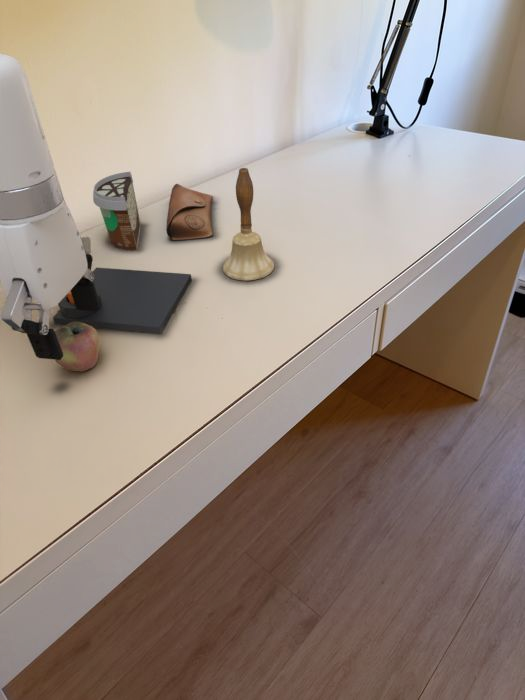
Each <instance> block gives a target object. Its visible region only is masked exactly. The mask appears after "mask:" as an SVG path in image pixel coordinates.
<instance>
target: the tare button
mask: <svg viewBox="0 0 525 700" xmlns="http://www.w3.org/2000/svg"><path fill="white" fill-rule="evenodd" d="M67 296H68V299H69V302H70V303H73V304H75V303H74V300H73V297H72V294H71V291H69V292H68V294H67Z"/></svg>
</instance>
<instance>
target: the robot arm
mask: <svg viewBox="0 0 525 700" xmlns="http://www.w3.org/2000/svg"><path fill="white" fill-rule="evenodd" d="M54 165H55V164H54V162H53V158H52V155H51V152H50V148H49V145H48V142H47V139H46V136H45V132H44V128H43V125H42V123H41V119H40V115H39V112H38V109H37V105H36V103H35V100H34V96H33V93H32V89H31V86H30V83H29V80H28V77H27V74H26V71H25V69H24V67H23V65H22V64H21V63H20V62H19V61H18V59H16V58H14V57H13V56H11V55H8V54H4V53H0V284H1V288H2V289H3V293H4V294H5V295H4V296H5V299H6V300H5V302H4V305H3V308H2V310H1V312H0V320H1V321H3V322H4V324H6V325H8V326H9V327H10V328H11V330H12V331H15V332H19V333H21V334H26V336H27V338H28V340H29V343H30V345H31V348H32V350H33V352H34V354H35V357H36V358H38V359H45V360H54V361H55V360H61V359H62V357H63V352H62V349H61V347H60V344H59V341H58V339H57V336H56V333H55V329H54V328H50V323H51V322H50V321H51V310H52V309H55V307H56V306H58V303H59V302H60V301H61V300H62V299H63V298H64V297H65V296H66V295H67V294H68V292H69V291H71V294H72V297H73V300H74V303H75V306H76V309H77V310H85V311H99V310H100V308H101V306H100V302H99V299H98V296H97V292H96V289H95V286H94V282H91V281H93V280H94V273H93V271H94V270H92V266H93V261H94V259H93V256H92V254H91V253H92V249H91V245H92V244H91V238H90V236H81V235H80V232H79V229H78V227H77V225H76V222H75V220H74V218H73V215H72V212H71V210H70V208H69V206H68V204H67V201H66V199H65V197H64V194H63V191H62V188H61V185H60V181H59V177H58V175H57V174H58V173H57V171H56V168H55V166H54ZM33 300H34V301H35V302H36V303H33ZM33 311H39V312H38V314H39V315H38V322H37V321H34V320H32V318H33Z"/></svg>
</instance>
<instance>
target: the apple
mask: <svg viewBox="0 0 525 700" xmlns="http://www.w3.org/2000/svg"><path fill="white" fill-rule="evenodd" d="M54 331H55V333H56V336H57V339H58V341H59V344H60V347H61V349H62V352H63V357H62V359H61V360H54V361H55V362H56V363H57V364H58V365H59V366H60V367H61V368H62V369H64V370H68V371H71V372H85V371H87V370H90V369H92V368H94V367H95V366H96V364H97V363H98V358H99V353H100V335H99V333H98V331H97V329H96V328H93V327H92V326H89V325H87V324H85V323H82V322H71V323H69V324H68V325H64V326H62V327H57V329H54Z"/></svg>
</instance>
